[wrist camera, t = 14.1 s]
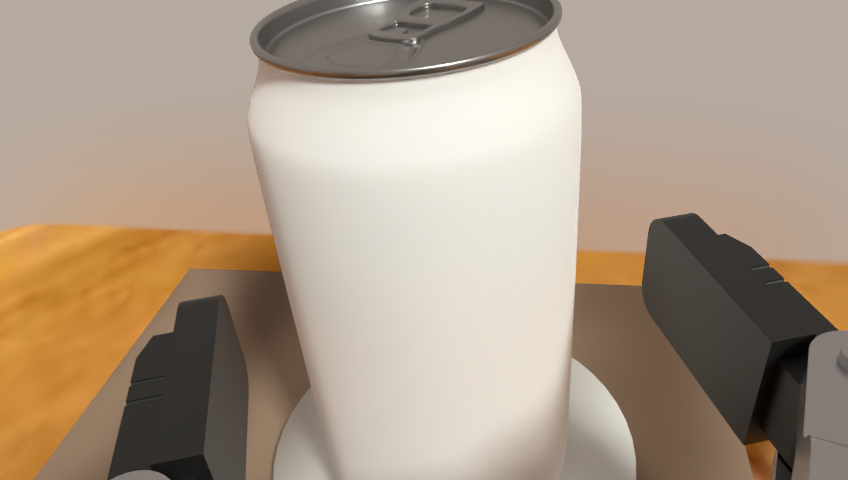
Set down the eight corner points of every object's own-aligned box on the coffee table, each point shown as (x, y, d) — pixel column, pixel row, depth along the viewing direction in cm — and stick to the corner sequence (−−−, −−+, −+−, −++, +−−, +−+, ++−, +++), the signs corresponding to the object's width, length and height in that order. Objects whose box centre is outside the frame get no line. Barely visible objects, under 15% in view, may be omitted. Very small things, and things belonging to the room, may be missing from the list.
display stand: (-64, 753, 17) (-140, 691, 15) (209, 323, 30) (187, 260, 28) (815, 927, 13) (863, 874, 11) (692, 349, 26) (705, 279, 24)
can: (285, 487, 18) (145, 53, 12) (414, 340, 23) (365, -37, 16) (499, 605, 15) (476, 108, 9) (601, 409, 20) (639, -23, 13)
